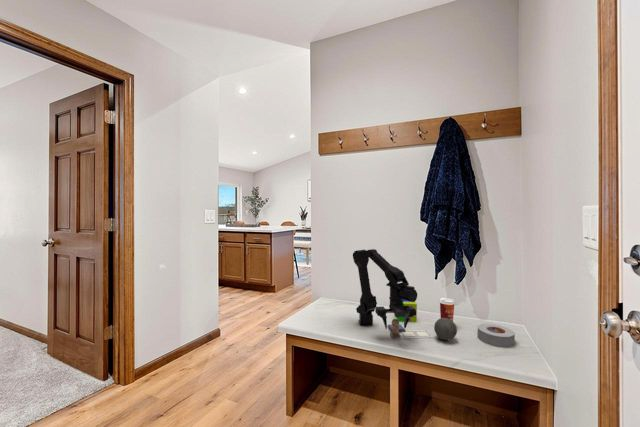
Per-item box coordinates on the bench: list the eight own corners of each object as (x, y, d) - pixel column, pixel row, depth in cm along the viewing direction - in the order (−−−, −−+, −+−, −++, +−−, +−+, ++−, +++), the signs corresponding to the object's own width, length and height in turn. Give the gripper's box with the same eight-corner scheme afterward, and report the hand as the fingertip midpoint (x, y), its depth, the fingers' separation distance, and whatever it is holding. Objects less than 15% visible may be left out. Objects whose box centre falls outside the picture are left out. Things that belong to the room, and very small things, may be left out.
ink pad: (391, 332, 155) (391, 329, 155) (387, 327, 162) (387, 324, 162) (405, 332, 155) (405, 329, 155) (400, 326, 162) (400, 323, 162)
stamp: (392, 338, 148) (392, 320, 148) (390, 335, 152) (390, 317, 152) (400, 338, 148) (400, 320, 148) (398, 335, 152) (398, 317, 152)
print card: (405, 338, 149) (405, 337, 149) (400, 331, 157) (400, 330, 157) (432, 337, 150) (432, 337, 150) (425, 330, 157) (425, 330, 157)
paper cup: (447, 330, 158) (448, 303, 157) (435, 324, 165) (436, 298, 164) (458, 327, 162) (458, 300, 161) (445, 322, 169) (446, 296, 168)
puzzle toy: (412, 315, 179) (413, 298, 178) (416, 322, 169) (416, 304, 168) (395, 314, 180) (395, 297, 179) (397, 321, 170) (398, 303, 169)
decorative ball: (436, 343, 144) (436, 322, 143) (432, 334, 154) (432, 314, 153) (459, 344, 142) (459, 323, 142) (453, 335, 152) (454, 315, 151)
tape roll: (493, 331, 157) (493, 321, 157) (522, 344, 143) (522, 333, 143) (470, 335, 152) (470, 325, 152) (497, 350, 138) (498, 338, 137)
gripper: (381, 302, 141) (380, 336, 142) (421, 301, 142) (420, 335, 143) (375, 294, 152) (374, 326, 153) (412, 294, 153) (412, 325, 154)
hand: (395, 328), depth 150 cm, fingers open, 9 cm apart
